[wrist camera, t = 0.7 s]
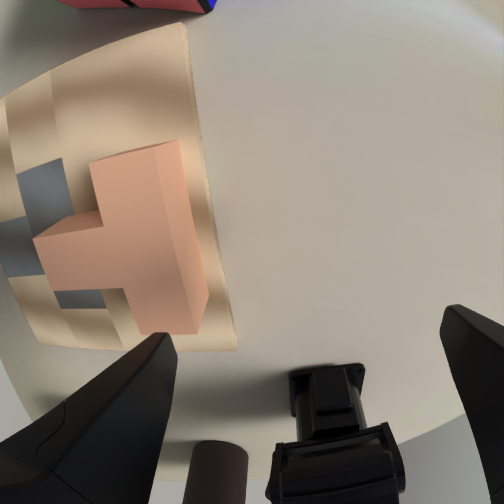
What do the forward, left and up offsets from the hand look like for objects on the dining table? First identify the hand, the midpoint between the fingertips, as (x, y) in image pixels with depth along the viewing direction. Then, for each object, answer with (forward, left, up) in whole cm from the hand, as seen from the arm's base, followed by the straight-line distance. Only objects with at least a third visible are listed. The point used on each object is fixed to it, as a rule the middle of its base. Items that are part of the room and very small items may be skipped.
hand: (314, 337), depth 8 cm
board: (+1, +15, -12) cm, 19 cm away
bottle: (-29, +10, -12) cm, 33 cm away
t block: (0, +10, -11) cm, 15 cm away
